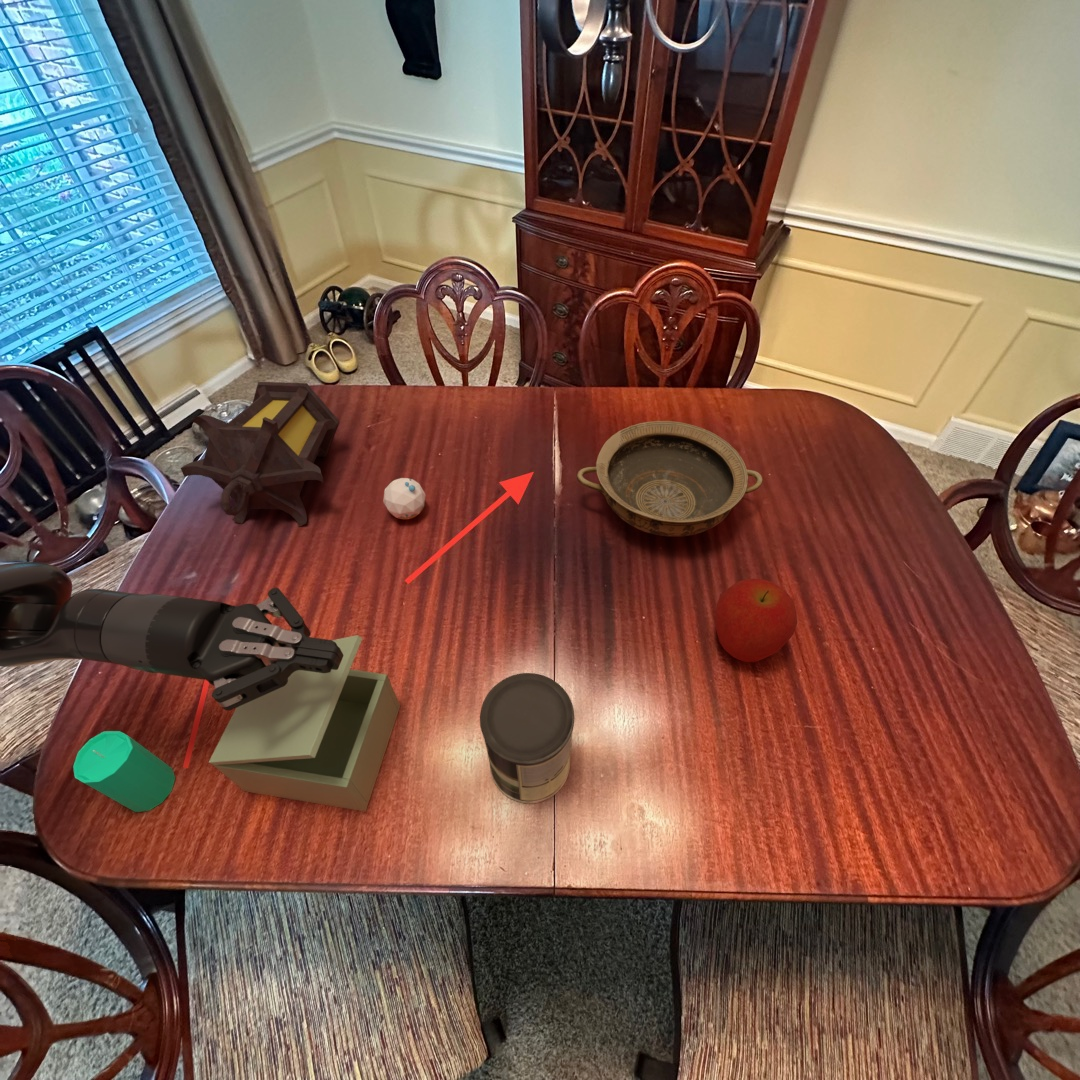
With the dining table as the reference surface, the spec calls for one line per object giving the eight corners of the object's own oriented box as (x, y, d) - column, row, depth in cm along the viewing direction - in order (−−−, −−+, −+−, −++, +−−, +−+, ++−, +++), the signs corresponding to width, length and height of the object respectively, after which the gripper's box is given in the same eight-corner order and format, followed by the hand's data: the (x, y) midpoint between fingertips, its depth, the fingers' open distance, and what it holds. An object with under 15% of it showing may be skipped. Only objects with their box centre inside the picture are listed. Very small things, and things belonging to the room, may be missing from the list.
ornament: (384, 527, 102) (373, 494, 96) (394, 497, 107) (384, 463, 101) (423, 529, 102) (415, 496, 96) (431, 499, 106) (424, 465, 100)
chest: (400, 705, 81) (386, 674, 74) (365, 811, 72) (346, 787, 66) (290, 689, 83) (267, 657, 76) (243, 791, 74) (212, 765, 67)
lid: (362, 638, 68) (358, 634, 68) (314, 758, 59) (309, 754, 59) (268, 657, 76) (263, 653, 76) (213, 765, 67) (208, 762, 67)
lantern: (367, 466, 119) (313, 570, 96) (252, 453, 119) (171, 554, 96) (355, 363, 105) (288, 457, 82) (224, 349, 105) (121, 438, 82)
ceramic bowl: (740, 465, 111) (754, 422, 103) (762, 567, 95) (781, 526, 88) (577, 459, 112) (579, 416, 105) (573, 559, 97) (575, 517, 89)
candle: (158, 816, 72) (101, 782, 63) (112, 808, 73) (50, 773, 64) (184, 766, 76) (134, 728, 67) (141, 759, 77) (86, 720, 68)
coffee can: (479, 794, 74) (467, 751, 63) (501, 716, 80) (493, 664, 69) (562, 813, 72) (564, 772, 61) (577, 732, 78) (582, 682, 68)
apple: (785, 631, 88) (817, 574, 77) (769, 688, 82) (802, 635, 71) (715, 606, 91) (737, 547, 80) (696, 659, 85) (717, 603, 75)
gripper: (109, 676, 52) (297, 705, 50) (190, 559, 61) (353, 579, 59) (152, 714, 58) (323, 740, 56) (221, 601, 66) (371, 621, 64)
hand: (338, 657), depth 57 cm, fingers closed
